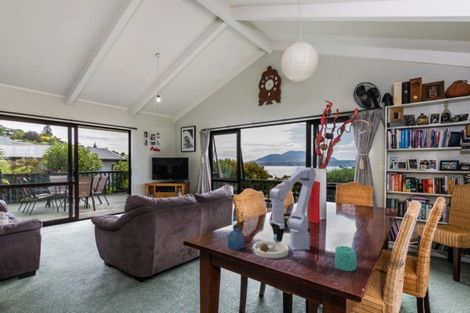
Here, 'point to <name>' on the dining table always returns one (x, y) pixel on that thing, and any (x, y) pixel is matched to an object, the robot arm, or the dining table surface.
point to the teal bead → (276, 239)
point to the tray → (274, 254)
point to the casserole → (286, 217)
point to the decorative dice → (345, 258)
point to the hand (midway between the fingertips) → (277, 239)
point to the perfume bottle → (236, 238)
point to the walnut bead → (264, 247)
